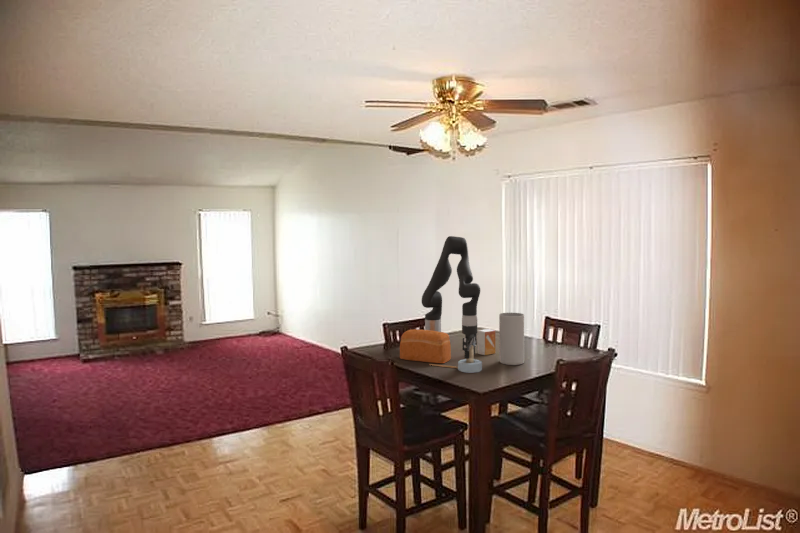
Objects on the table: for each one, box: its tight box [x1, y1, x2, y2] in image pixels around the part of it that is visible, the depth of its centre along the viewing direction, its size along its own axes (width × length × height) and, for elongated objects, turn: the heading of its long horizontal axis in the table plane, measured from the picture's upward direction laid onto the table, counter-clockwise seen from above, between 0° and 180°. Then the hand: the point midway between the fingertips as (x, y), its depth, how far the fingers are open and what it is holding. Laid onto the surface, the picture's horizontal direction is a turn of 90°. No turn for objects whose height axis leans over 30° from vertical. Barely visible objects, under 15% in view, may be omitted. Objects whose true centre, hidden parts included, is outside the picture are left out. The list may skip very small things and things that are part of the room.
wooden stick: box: [428, 363, 458, 369], centre depth 276 cm, size 17×1×1 cm, turn 63°
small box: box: [476, 328, 496, 356], centre depth 303 cm, size 8×6×13 cm
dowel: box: [466, 345, 475, 363], centre depth 269 cm, size 4×4×12 cm
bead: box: [457, 358, 483, 374], centre depth 270 cm, size 11×11×4 cm
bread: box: [399, 328, 452, 364], centre depth 292 cm, size 14×26×16 cm, turn 61°
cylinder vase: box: [498, 312, 525, 366], centre depth 282 cm, size 12×12×25 cm
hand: (469, 356), depth 269 cm, fingers open, 8 cm apart
